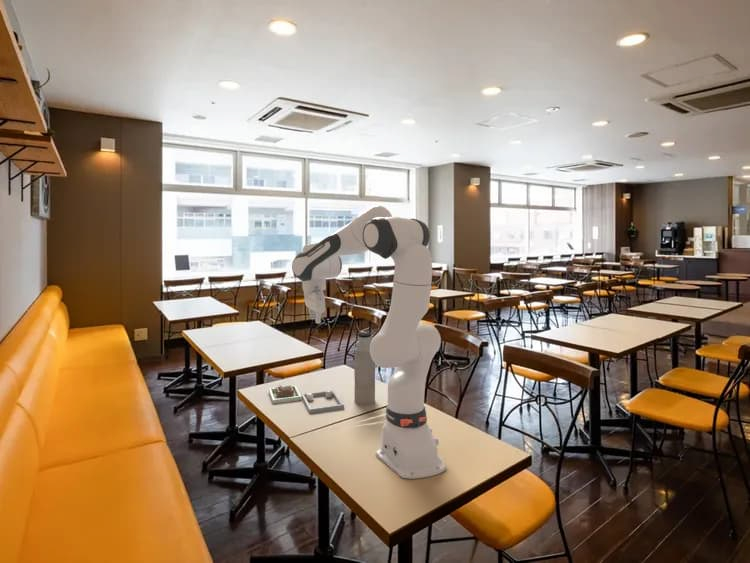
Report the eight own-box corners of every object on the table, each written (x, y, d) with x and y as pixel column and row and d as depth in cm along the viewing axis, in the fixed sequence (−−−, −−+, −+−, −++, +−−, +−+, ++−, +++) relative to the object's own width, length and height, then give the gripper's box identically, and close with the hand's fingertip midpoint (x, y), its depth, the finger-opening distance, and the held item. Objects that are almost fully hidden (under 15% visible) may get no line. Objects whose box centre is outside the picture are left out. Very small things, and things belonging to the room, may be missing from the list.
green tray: (301, 402, 174) (301, 396, 173) (272, 406, 170) (272, 400, 170) (295, 391, 186) (295, 385, 185) (269, 394, 182) (268, 388, 182)
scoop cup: (293, 398, 176) (293, 390, 175) (278, 400, 174) (278, 392, 173) (291, 393, 181) (291, 385, 181) (276, 395, 179) (276, 386, 179)
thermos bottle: (375, 400, 176) (375, 331, 173) (374, 408, 168) (374, 336, 165) (355, 399, 177) (355, 331, 173) (353, 407, 169) (353, 336, 165)
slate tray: (344, 411, 166) (344, 404, 165) (309, 416, 161) (309, 409, 161) (333, 395, 180) (333, 390, 180) (301, 400, 176) (301, 394, 176)
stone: (290, 396, 177) (290, 385, 177) (282, 397, 175) (282, 386, 175) (287, 393, 180) (286, 383, 179) (279, 395, 178) (279, 384, 177)
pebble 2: (333, 399, 176) (333, 391, 175) (326, 400, 175) (326, 392, 174) (331, 396, 178) (331, 389, 178) (324, 397, 177) (324, 390, 177)
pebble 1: (314, 401, 173) (314, 394, 172) (306, 402, 172) (306, 395, 171) (312, 399, 176) (312, 391, 175) (305, 400, 175) (305, 392, 174)
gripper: (329, 287, 161) (330, 325, 162) (316, 282, 180) (317, 316, 181) (311, 288, 159) (313, 326, 160) (301, 283, 178) (302, 317, 179)
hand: (315, 321), depth 171 cm, fingers open, 8 cm apart
